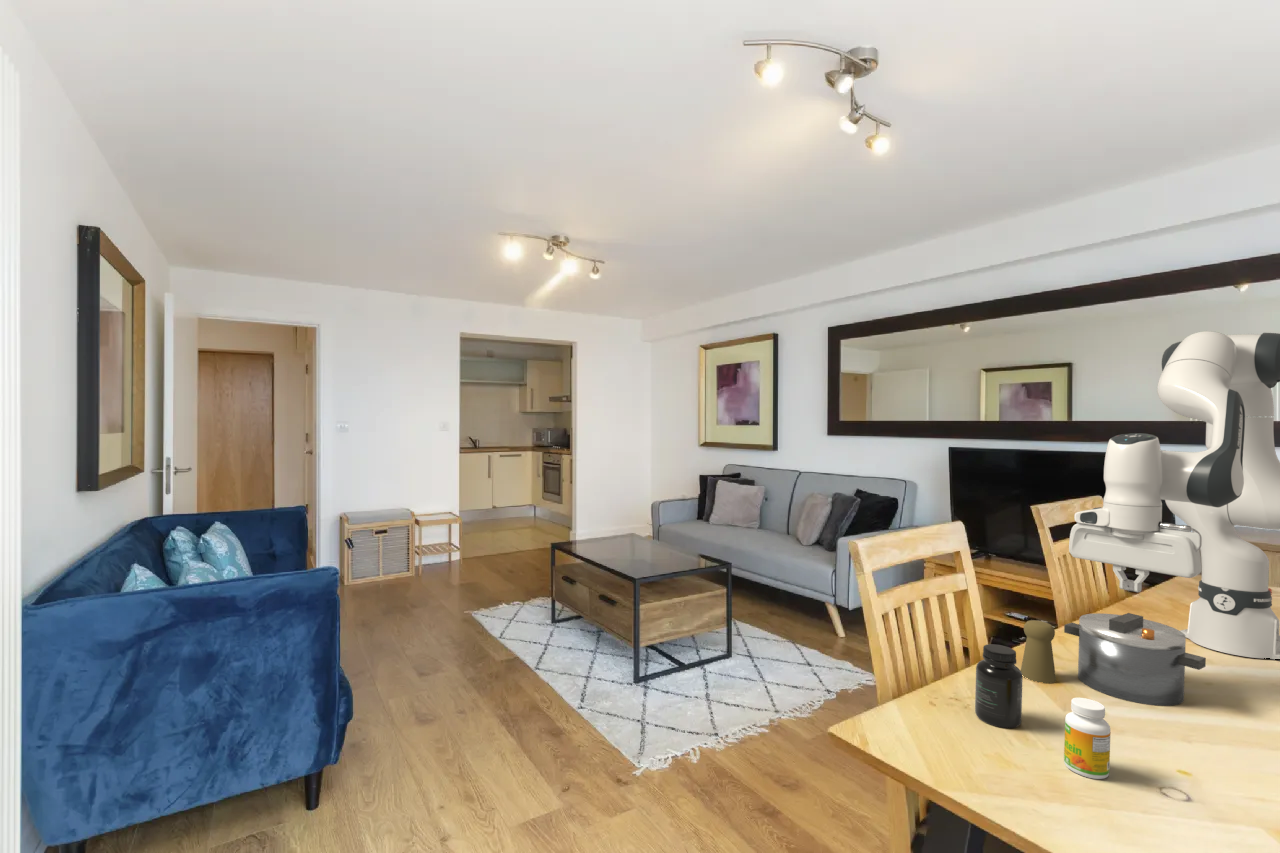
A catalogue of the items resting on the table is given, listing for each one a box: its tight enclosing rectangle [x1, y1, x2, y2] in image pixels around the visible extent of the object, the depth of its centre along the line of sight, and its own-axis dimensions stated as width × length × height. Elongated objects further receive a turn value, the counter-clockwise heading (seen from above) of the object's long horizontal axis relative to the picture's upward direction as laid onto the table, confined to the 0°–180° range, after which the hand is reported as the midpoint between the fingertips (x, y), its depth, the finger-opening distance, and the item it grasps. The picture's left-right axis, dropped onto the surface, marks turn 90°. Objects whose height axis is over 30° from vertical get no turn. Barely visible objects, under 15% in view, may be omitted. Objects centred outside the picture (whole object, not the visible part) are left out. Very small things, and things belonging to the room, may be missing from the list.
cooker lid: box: [1078, 612, 1187, 650], centre depth 119 cm, size 16×16×4 cm
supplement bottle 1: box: [974, 643, 1024, 729], centre depth 105 cm, size 7×7×12 cm
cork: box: [1020, 619, 1057, 684], centre depth 123 cm, size 6×6×11 cm
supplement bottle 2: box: [1063, 697, 1111, 780], centre depth 90 cm, size 5×5×10 cm
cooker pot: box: [1063, 622, 1207, 707], centre depth 119 cm, size 16×22×10 cm
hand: (1130, 590), depth 119 cm, fingers closed
